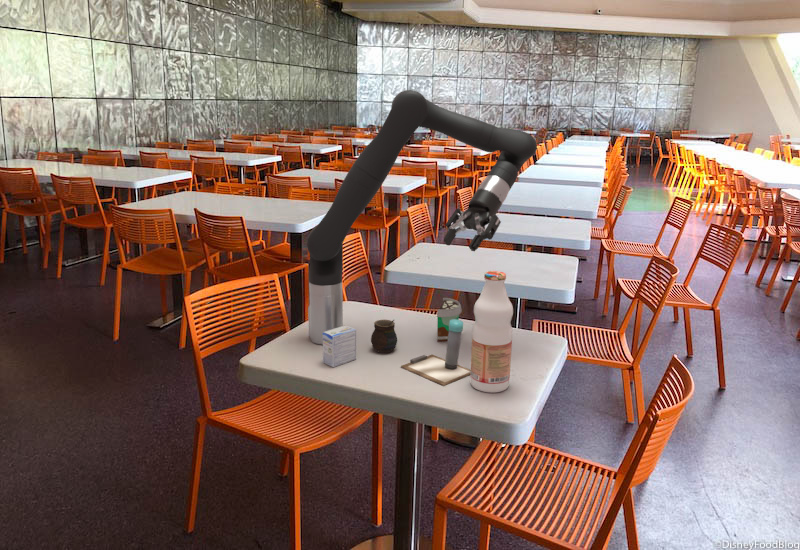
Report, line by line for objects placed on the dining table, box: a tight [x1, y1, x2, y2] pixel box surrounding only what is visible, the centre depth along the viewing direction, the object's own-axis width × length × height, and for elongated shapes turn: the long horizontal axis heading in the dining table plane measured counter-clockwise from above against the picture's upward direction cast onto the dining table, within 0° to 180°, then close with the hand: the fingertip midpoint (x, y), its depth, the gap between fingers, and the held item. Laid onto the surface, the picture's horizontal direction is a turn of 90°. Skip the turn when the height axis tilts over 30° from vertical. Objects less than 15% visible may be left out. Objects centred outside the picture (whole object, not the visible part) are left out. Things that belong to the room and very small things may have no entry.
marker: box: [444, 319, 464, 370], centre depth 161 cm, size 3×3×12 cm
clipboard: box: [400, 354, 471, 387], centre depth 162 cm, size 15×12×1 cm
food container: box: [436, 297, 462, 343], centre depth 184 cm, size 12×6×10 cm, turn 168°
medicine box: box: [322, 325, 357, 368], centre depth 166 cm, size 8×4×9 cm, turn 135°
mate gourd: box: [370, 319, 398, 354], centre depth 174 cm, size 7×8×10 cm
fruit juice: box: [469, 270, 514, 394], centre depth 151 cm, size 9×9×28 cm
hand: (458, 246), depth 161 cm, fingers open, 8 cm apart
